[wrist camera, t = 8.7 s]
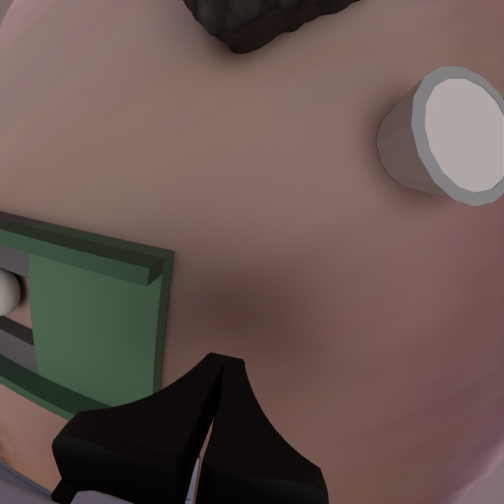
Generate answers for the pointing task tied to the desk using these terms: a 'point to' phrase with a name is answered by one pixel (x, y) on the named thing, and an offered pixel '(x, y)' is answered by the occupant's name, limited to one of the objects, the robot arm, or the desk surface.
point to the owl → (258, 18)
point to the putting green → (83, 317)
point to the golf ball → (8, 292)
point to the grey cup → (447, 137)
